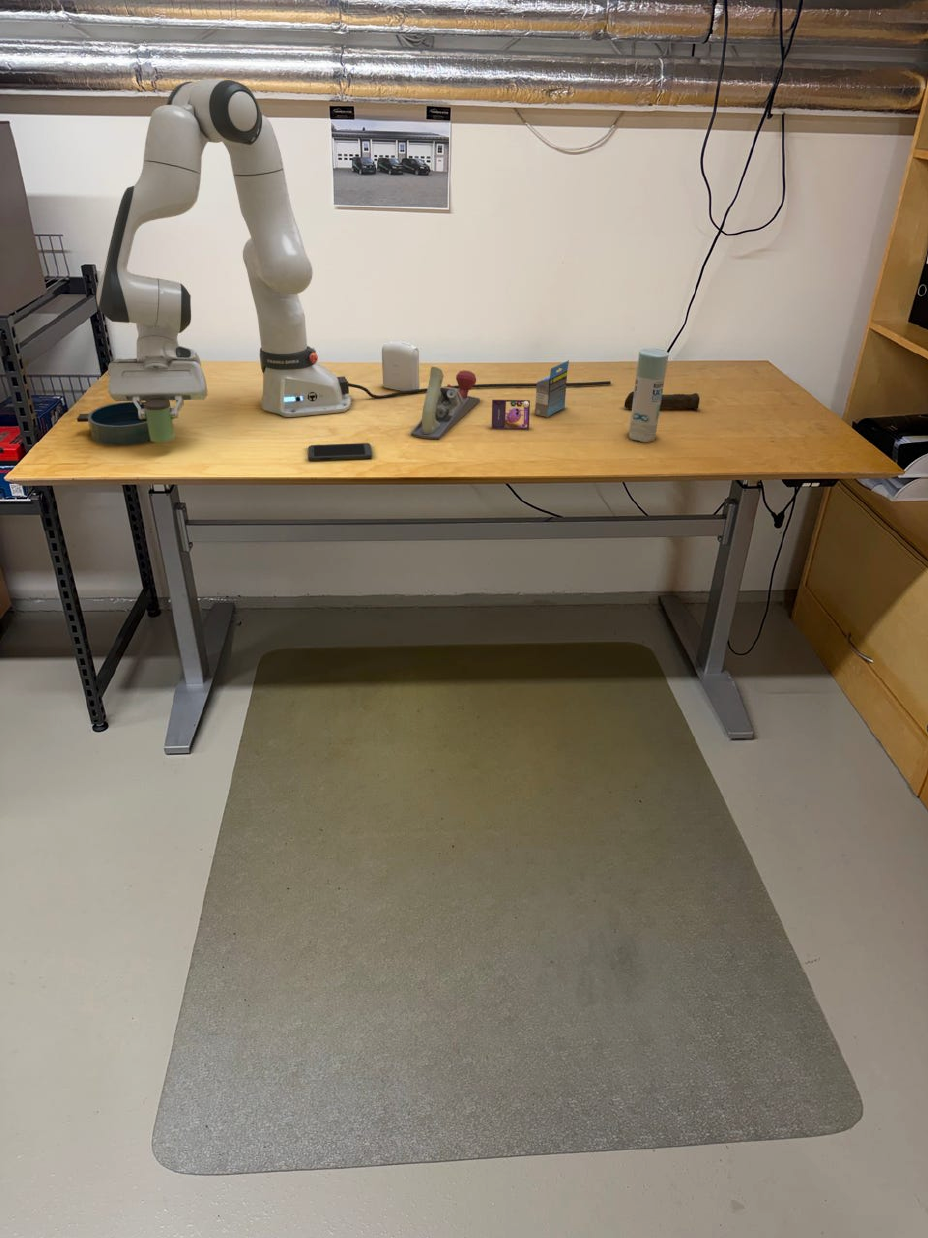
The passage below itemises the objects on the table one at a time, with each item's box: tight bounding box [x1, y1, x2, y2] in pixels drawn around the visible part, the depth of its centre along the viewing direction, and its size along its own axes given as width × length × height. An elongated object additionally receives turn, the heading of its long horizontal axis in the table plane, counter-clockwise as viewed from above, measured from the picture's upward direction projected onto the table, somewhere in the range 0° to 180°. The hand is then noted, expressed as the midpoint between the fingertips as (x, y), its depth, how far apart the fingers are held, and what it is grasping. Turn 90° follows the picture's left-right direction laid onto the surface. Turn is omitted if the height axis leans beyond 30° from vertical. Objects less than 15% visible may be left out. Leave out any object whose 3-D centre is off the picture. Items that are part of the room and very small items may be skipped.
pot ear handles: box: [76, 413, 175, 423], centre depth 197 cm, size 21×3×1 cm, turn 98°
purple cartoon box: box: [491, 399, 531, 430], centre depth 207 cm, size 7×5×9 cm
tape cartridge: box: [534, 360, 570, 418], centre depth 214 cm, size 9×4×12 cm, turn 145°
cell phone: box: [307, 442, 373, 462], centre depth 191 cm, size 7×14×1 cm, turn 99°
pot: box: [87, 401, 152, 446], centre depth 198 cm, size 17×17×4 cm
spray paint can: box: [628, 348, 669, 443], centre depth 198 cm, size 6×6×20 cm
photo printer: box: [381, 340, 421, 392], centre depth 226 cm, size 10×4×12 cm, turn 63°
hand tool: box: [623, 390, 700, 411], centre depth 220 cm, size 19×4×5 cm, turn 92°
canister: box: [143, 398, 176, 443], centre depth 186 cm, size 5×5×8 cm
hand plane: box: [411, 365, 481, 440], centre depth 208 cm, size 7×31×15 cm, turn 160°
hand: (158, 417), depth 185 cm, fingers closed on canister, 5 cm apart
